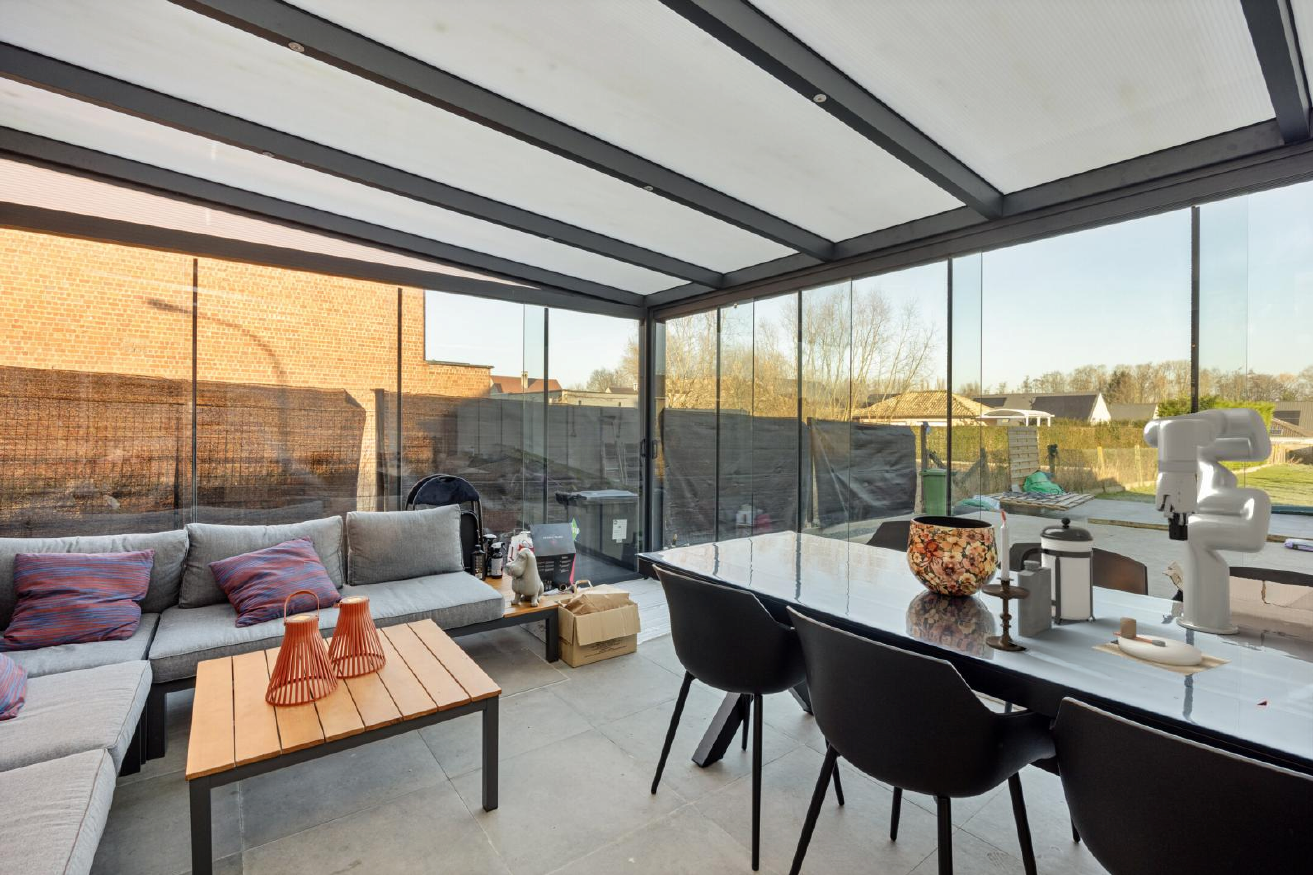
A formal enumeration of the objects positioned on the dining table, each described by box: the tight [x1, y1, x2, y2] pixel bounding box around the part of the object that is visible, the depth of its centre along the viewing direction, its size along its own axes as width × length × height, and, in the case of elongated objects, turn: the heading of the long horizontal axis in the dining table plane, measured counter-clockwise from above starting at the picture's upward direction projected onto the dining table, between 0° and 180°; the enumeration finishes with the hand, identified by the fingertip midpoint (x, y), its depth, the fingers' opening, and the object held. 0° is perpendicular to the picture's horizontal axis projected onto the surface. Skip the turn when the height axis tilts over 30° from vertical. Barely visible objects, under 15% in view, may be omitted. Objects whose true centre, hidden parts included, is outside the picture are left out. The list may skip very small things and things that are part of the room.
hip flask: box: [1017, 560, 1053, 638], centre depth 157 cm, size 16×4×20 cm, turn 127°
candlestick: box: [980, 508, 1030, 653], centre depth 149 cm, size 11×11×35 cm
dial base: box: [1090, 639, 1232, 677], centre depth 138 cm, size 19×19×2 cm
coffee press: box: [1018, 517, 1098, 626], centre depth 170 cm, size 17×16×30 cm
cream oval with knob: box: [1113, 616, 1203, 665], centre depth 139 cm, size 16×15×6 cm
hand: (1178, 539), depth 148 cm, fingers closed
